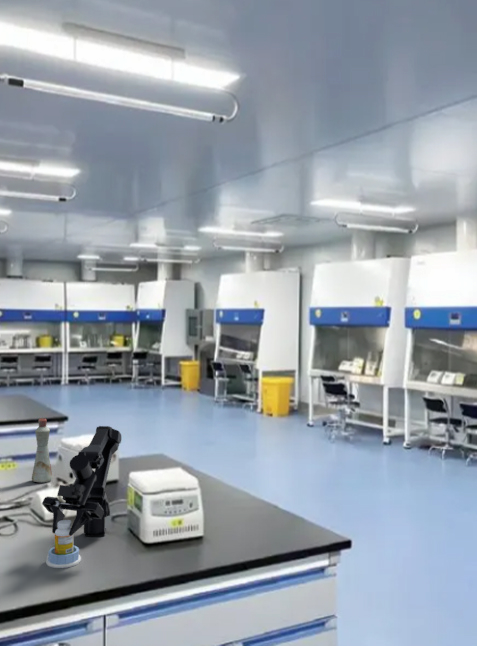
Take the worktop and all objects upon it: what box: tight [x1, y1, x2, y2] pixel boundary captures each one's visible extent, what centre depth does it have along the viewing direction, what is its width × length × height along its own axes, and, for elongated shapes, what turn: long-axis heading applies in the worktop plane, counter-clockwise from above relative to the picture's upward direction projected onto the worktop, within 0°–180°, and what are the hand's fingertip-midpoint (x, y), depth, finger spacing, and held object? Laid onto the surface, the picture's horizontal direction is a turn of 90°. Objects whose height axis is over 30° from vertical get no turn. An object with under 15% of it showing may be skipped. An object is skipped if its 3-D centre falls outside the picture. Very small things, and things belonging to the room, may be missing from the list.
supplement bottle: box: [54, 519, 74, 555], centre depth 183 cm, size 5×5×10 cm
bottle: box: [31, 417, 53, 484], centre depth 270 cm, size 9×9×28 cm
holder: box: [45, 544, 82, 569], centre depth 183 cm, size 10×10×3 cm
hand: (61, 533), depth 181 cm, fingers closed on supplement bottle, 5 cm apart
